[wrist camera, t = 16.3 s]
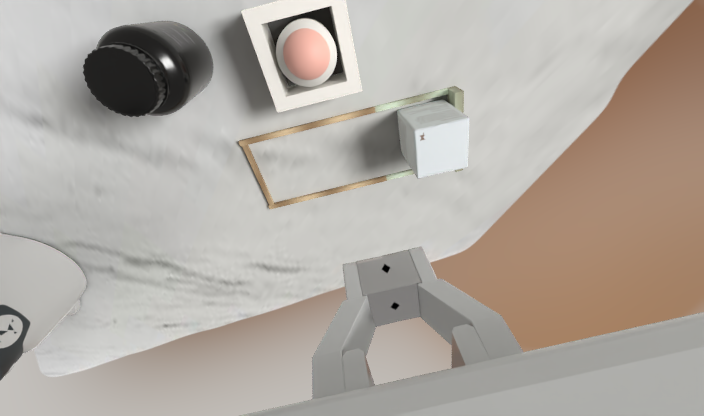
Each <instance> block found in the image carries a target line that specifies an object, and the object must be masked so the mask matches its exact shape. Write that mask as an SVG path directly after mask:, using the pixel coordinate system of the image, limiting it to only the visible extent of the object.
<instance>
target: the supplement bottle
mask: <svg viewBox="0 0 704 416" xmlns="http://www.w3.org/2000/svg"><path fill="white" fill-rule="evenodd" d="M83 68H84V71H83V74H84V76H85V81H86V82H87V86H88V88H89V89H90V90H91V93H92V94H93V95H94V96H95V97H96V99H97V100H98V101H100V102H101V103H102V104H103V105H104V106H106V107H108V108H109V109H110V110H113V111H115V112H116V113H120V114H122V115H124V116H126V115H128V116H130V117H132V116H136V117H139V116H145V115H146V114H147V115H153V116H162V115H168V114H171V113H174V112H176V111H177V110H179V109H181V108H182V107H183V106H184V105H185V104H187V103H188V102H189V101H190V100H191V99H193V98H194V97H195V96H196V95H197V94H198V93H200V92H201V91H202V90H203V89H204V88H205V87H206V86H207V85H208V84H209V82H210V80H211V78H212V74H213V61H212V57H211V54H210V51H209V49H208V47H207V46H206V44H205V43H204V41H203V40H202V39H201V38H200V37H199V36H198V35H197V34H196V33H195V32H194V31H193V30H191V29H190V28H188V27H186V26H184V25H182V24H180V23H177V22H172V21H157V22H149V23H140V24H131V25H123V26H119V27H116V28H113V29H111V30H109V31H108V32H106V33H105V34H104V35H103V36H102V37H101V39H100V40H99V42H98V45H97V47H96V49H95V50H93V51H92V53H90V54H88V58H86V59H85V64H84V65H83Z"/></svg>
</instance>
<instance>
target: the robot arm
mask: <svg viewBox="0 0 704 416" xmlns="http://www.w3.org/2000/svg"><path fill="white" fill-rule="evenodd" d="M343 273H344V281H345V288H346V297H347V300H345V301H343V302H342V304H341V306H340V307H339V309H338V311H337V313H336V315H335V317H334V319H333V321H332V322H331V324H330V326H329V328H328V330H327V332H326V334H325V335H324V337H323V339H322V341H321V343H320V344H319V346H318V348H317V350H316V352H315V354H314V356H313V357H312V369H313V370H312V375H313V376H312V378H313V379H312V385H313V388H312V389H313V399H312V400H308V401H304V402H299V403H294V404H290V405H285V406H281V407H277V408H272V409H268V410H263V411H259V412H254V413H250V414H245V415H241V416H704V312H702V313H698V314H693V315H689V316H684V317H680V318H675V319H671V320H666V321H662V322H658V323H653V324H649V325H644V326H640V327H635V328H630V329H626V330H622V331H618V332H613V333H608V334H604V335H599V336H595V337H590V338H586V339H581V340H577V341H572V342H568V343H563V344H559V345H554V346H550V347H545V348H541V349H536V350H532V351H528V352H523V350H522V349H521V347H520V346H519V344H518V342H517V341H516V339H515V338H514V336H513V334H512V333H511V331H510V329H509V328H508V326H507V324H506V323H505V321H504V319H503V318H502V316H501V315H499V314H498V313H496V312H495V311H493V310H491V309H490V308H488V307H486V306H485V305H483V304H482V303H480V302H478V301H477V300H475V299H474V298H472V297H470V296H469V295H467V294H466V293H464V292H462V291H461V290H459V289H458V288H456V287H454V286H453V285H451V284H449V283H448V282H446V281H445V280H443V279H437V277H436V275H435V273H434V271H433V269H432V267H431V265H430V262H429V260H428V258H427V256H426V254H425V252H424V249H423V248H422V247H417V248H413V249H408V250H404V251H400V252H396V253H392V254H388V255H383V256H380V257H375V258H370V259H365V260H360V261H356V262H352V263H347V264H343ZM86 284H87V283H86V278H85V275H84V273H83V271H82V270H81V268H80V267H79V266H78V265H77V264H76V263H75V262H74V261H73V260H72V259H70V258H69V257H68V256H66V255H65V254H63V253H62V252H60V251H58V250H56V249H55V248H53V247H50V246H48V245H46V244H43V243H41V242H38V241H35V240H31V239H28V238H23V237H18V236H12V235H7V234H3V233H0V380H1V379H2V378H3V377H4V376H5V375H6V374H7V373H9V371H10V370H11V369H12V368H13V367H14V365H15V363H16V361H17V360H18V359H19V358H20V357H21V355H22V353H26V352H28V351H32V350H34V349H35V348H36V347H38V345H39V344H40V343H41V342H42V341H43V340H44V339H45V338H46V337H47V336H48V335H49V334H50V332H51V331H52V330H53V329H54V328H55V327H56V326H57V325H58V324H59V323H60V321H61V320H62V319H63V318H64V317H65V316H69V315H74V314H75V313H76V312H77V311H78V310H79V309H80V297H81V295H82V294H83V293H84V291H85V289H86ZM417 317H421V318H422V319H423V320H424V321H425V322H427V324H428V325H430V326H431V327H432V328H433V329H434V330H435V331H436V332H437V333H438V334H440V335H441V336H442V337H443V338H444V339H445V340H446V341H447V342H448V343H450V344H451V345H452V368H451V369H447V370H442V371H438V372H433V373H429V374H424V375H420V376H415V377H411V378H407V379H402V380H397V381H393V382H388V383H384V384H380V385H375V384H374V381H373V378H372V375H371V372H370V369H369V366H368V363H367V360H366V355H367V352H368V349H369V346H370V343H371V340H372V337H373V335H374V332H375V327H377V326H381V325H385V324H389V323H393V322H397V321H402V320H407V319H412V318H417Z"/></svg>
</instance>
